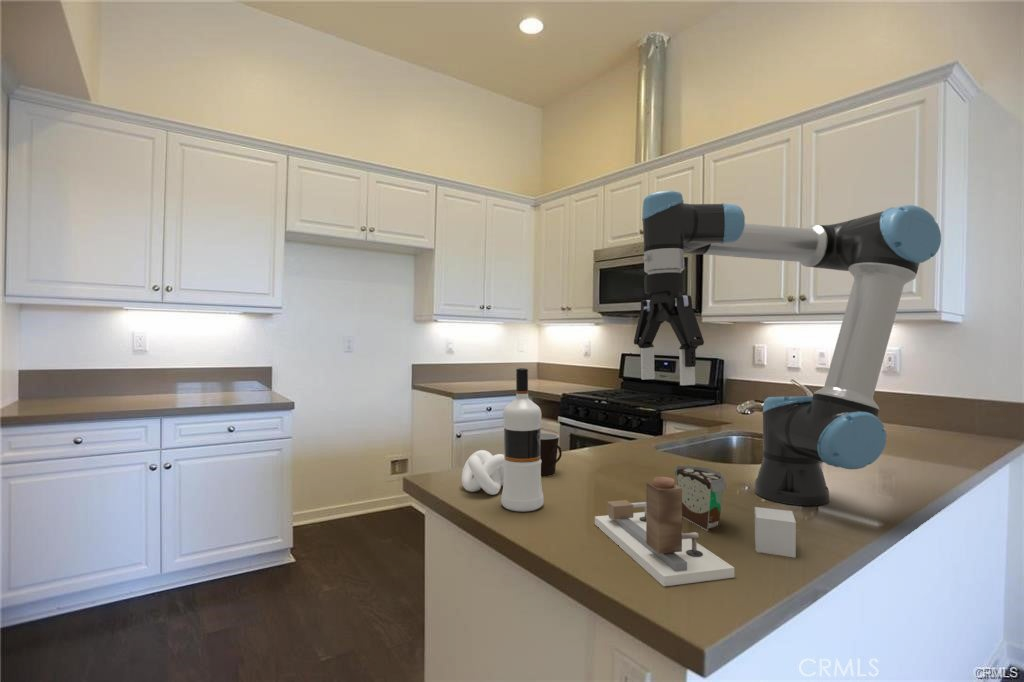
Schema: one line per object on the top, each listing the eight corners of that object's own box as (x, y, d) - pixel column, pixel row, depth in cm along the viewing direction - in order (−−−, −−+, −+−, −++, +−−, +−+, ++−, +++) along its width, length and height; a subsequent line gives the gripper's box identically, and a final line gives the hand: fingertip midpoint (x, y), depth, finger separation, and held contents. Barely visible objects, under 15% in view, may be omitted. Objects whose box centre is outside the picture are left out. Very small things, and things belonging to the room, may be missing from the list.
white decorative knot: (499, 481, 132) (499, 446, 132) (520, 494, 121) (520, 455, 121) (457, 486, 127) (457, 450, 127) (475, 500, 116) (475, 461, 116)
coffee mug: (524, 469, 143) (524, 433, 143) (555, 468, 144) (555, 432, 144) (531, 481, 132) (531, 442, 131) (564, 480, 133) (564, 441, 132)
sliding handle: (689, 546, 86) (690, 473, 86) (704, 556, 83) (704, 480, 82) (646, 551, 85) (646, 476, 84) (658, 561, 81) (659, 483, 80)
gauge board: (650, 518, 104) (650, 493, 104) (734, 577, 79) (734, 544, 79) (594, 524, 102) (594, 498, 102) (663, 586, 76) (663, 552, 76)
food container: (740, 531, 98) (740, 478, 98) (713, 534, 96) (713, 481, 96) (699, 510, 110) (699, 463, 110) (674, 513, 108) (674, 465, 108)
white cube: (791, 544, 92) (792, 511, 92) (795, 558, 86) (796, 522, 86) (754, 539, 94) (754, 506, 94) (755, 552, 89) (756, 517, 89)
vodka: (495, 501, 115) (495, 367, 115) (533, 497, 119) (533, 366, 118) (510, 515, 107) (509, 370, 106) (550, 509, 110) (550, 368, 110)
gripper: (616, 280, 112) (618, 378, 112) (686, 264, 88) (688, 388, 88) (646, 280, 114) (649, 376, 114) (723, 264, 90) (725, 386, 90)
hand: (666, 382), depth 101 cm, fingers open, 13 cm apart
